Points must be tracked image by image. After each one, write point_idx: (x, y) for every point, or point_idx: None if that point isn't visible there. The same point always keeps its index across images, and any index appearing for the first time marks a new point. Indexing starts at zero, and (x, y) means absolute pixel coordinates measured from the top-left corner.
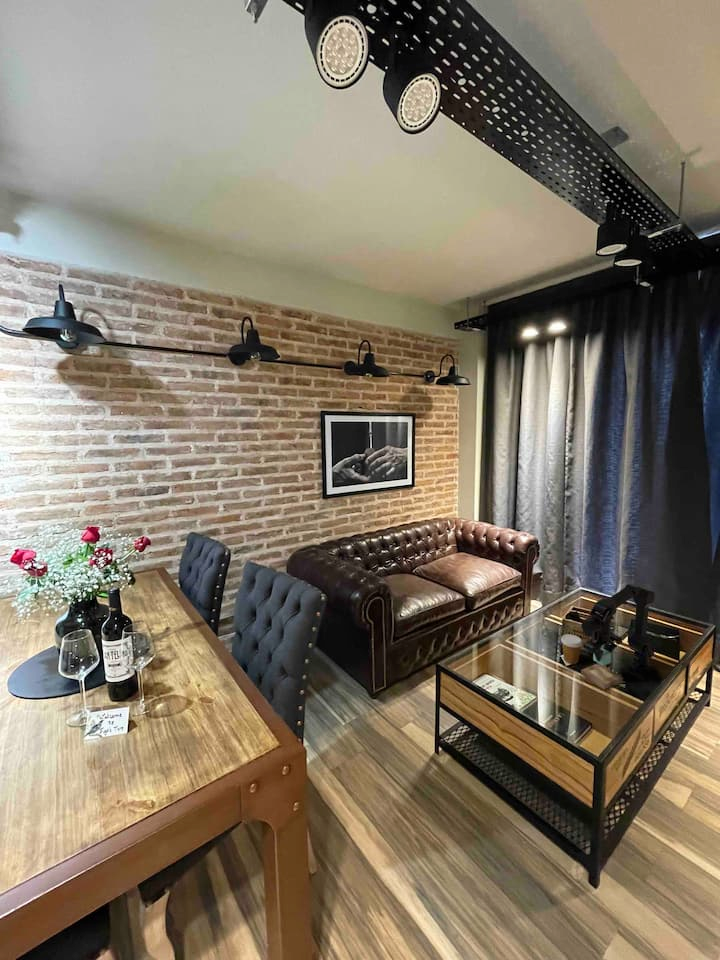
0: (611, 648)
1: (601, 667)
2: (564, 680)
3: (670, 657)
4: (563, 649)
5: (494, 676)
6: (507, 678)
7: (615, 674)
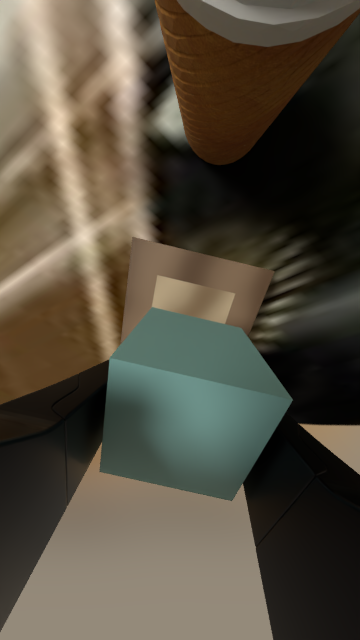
0: (275, 595)
1: (238, 299)
2: (35, 210)
3: None
4: None
5: None
6: None
7: None
